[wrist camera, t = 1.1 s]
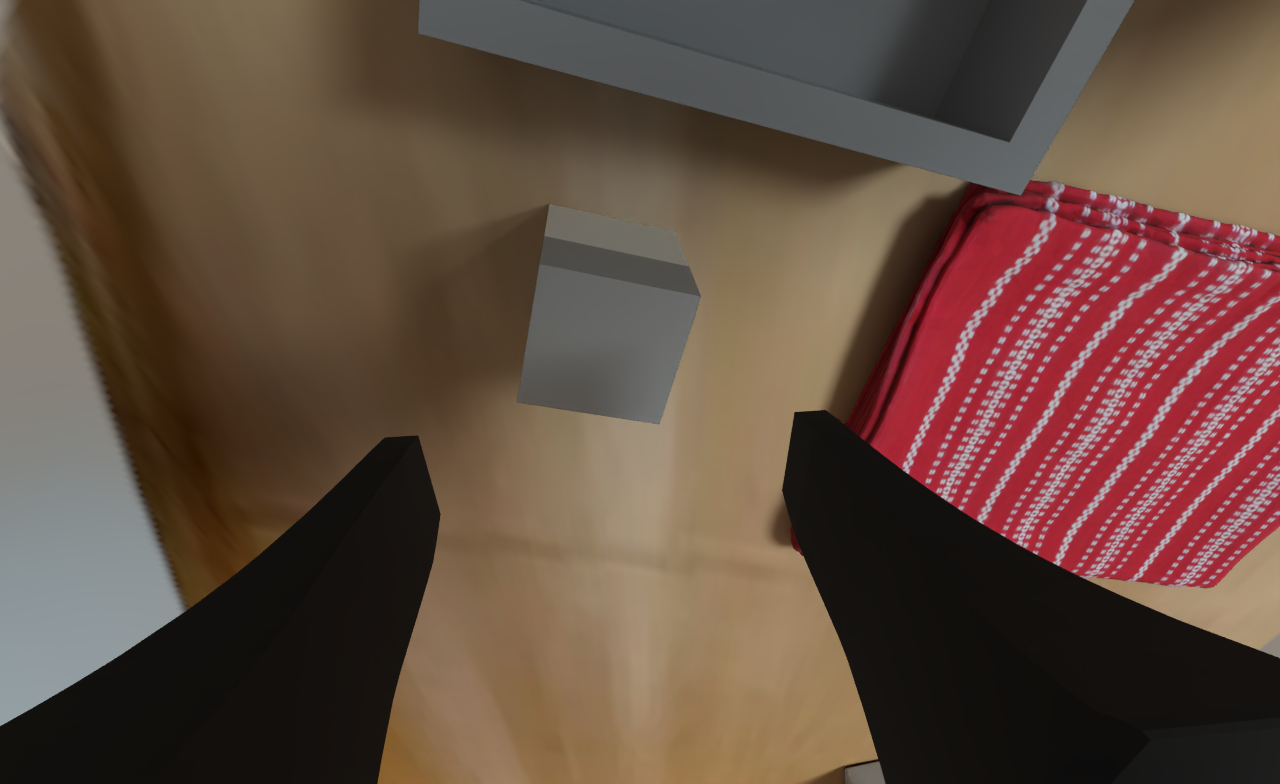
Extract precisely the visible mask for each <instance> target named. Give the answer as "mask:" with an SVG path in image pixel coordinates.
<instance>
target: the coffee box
mask: <svg viewBox="0 0 1280 784" xmlns="http://www.w3.org/2000/svg"><path fill="white" fill-rule="evenodd" d="M845 784H885V780H884V777H883V773H882V769H881V766H880V763H879V761H877V762H873V763H868V764H863V765H858V766H854V767H849V768H846V769H845Z"/></svg>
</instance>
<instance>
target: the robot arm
mask: <svg viewBox="0 0 1280 784" xmlns="http://www.w3.org/2000/svg"><path fill="white" fill-rule="evenodd" d="M782 491H783V495H784V499H785V502H786V506H787V510H788V514H789V517H790V520H791V524H792V527H793V531H794V534H795V537H796V539H797V542H798V544H799V546H800V549H801V551H802V554H803V556H804V558H805V561H806V563H807V565H808V568H809V570H810V572H811V575H812V577H813V579H814V581H815V584H816V586H817V588H818V591H819V593H820V595H821V597H822V600H823V602H824V604H825V607H826V609H827V611H828V613H829V616H830V618H831V620H832V623H833V625H834V627H835V630H836V632H837V634H838V636H839V639H840V642H841V644H842V647H843V649H844V652H845V654H846V657H847V660H848V663H849V666H850V669H851V672H852V675H853V678H854V681H855V684H856V687H857V691H858V694H859V697H860V700H861V703H862V706H863V709H864V712H865V716H866V719H867V722H868V726H869V729H870V732H871V736H872V739H873V743H874V746H875V749H876V753H877V756H878V759H879V763H880V766H881V769H882V773H883V777H884V780H885V784H1280V658H1278V657H1275V656H1273V655H1270V654H1267V653H1265V652H1262V651H1259V650H1257V649H1254V648H1251V647H1249V646H1246V645H1243V644H1241V643H1238V642H1235V641H1233V640H1230V639H1227V638H1225V637H1222V636H1219V635H1217V634H1214V633H1211V632H1209V631H1206V630H1203V629H1201V628H1198V627H1195V626H1193V625H1190V624H1187V623H1185V622H1182V621H1180V620H1177V619H1175V618H1172V617H1170V616H1167V615H1165V614H1163V613H1160V612H1158V611H1156V610H1153V609H1151V608H1149V607H1146V606H1144V605H1142V604H1139V603H1137V602H1135V601H1132V600H1130V599H1128V598H1125V597H1123V596H1121V595H1118V594H1116V593H1114V592H1112V591H1110V590H1108V589H1105V588H1103V587H1101V586H1099V585H1097V584H1094V583H1092V582H1090V581H1088V580H1086V579H1084V578H1082V577H1080V576H1078V575H1076V574H1074V573H1072V572H1070V571H1068V570H1066V569H1064V568H1062V567H1060V566H1058V565H1056V564H1054V563H1052V562H1050V561H1048V560H1046V559H1044V558H1042V557H1040V556H1038V555H1036V554H1034V553H1033V552H1031V551H1029V550H1027V549H1025V548H1023V547H1021V546H1020V545H1018V544H1016V543H1014V542H1013V541H1011V540H1009V539H1007V538H1006V537H1004V536H1002V535H1001V534H999V533H997V532H995V531H994V530H992V529H990V528H989V527H987V526H985V525H983V524H982V523H980V522H978V521H977V520H975V519H974V518H972V517H970V516H969V515H967V514H966V513H964V512H962V511H961V510H959V509H958V508H956V507H955V506H953V505H952V504H950V503H949V502H947V501H946V500H945V499H943V498H942V497H940V496H939V495H937V494H936V493H934V492H933V491H931V490H930V489H928V488H927V487H925V486H924V485H923V484H921V483H920V482H918V481H917V480H916V479H914V478H913V477H912V476H910V475H909V474H907V473H906V472H905V471H903V470H902V469H901V468H899V467H898V466H897V465H895V464H894V463H893V462H891V461H890V460H889V459H888V458H886V457H885V456H884V455H882V454H881V453H880V452H878V451H877V450H876V449H875V448H873V447H872V446H871V445H870V444H868V443H867V442H866V441H865V440H863V439H862V438H861V437H859V436H858V435H857V434H856V433H854V432H853V431H852V430H851V429H849V428H848V427H847V426H846V425H844V424H843V423H842V422H840V421H839V420H838V419H837V418H835V417H834V416H833V415H831V414H830V413H828V412H827V411H826V410H821V411H805V412H795V413H794V419H793V426H792V432H791V438H790V445H789V451H788V457H787V463H786V470H785V476H784V482H783V489H782ZM439 521H440V511H439V507H438V504H437V500H436V497H435V493H434V490H433V486H432V483H431V479H430V476H429V472H428V469H427V465H426V462H425V458H424V454H423V451H422V447H421V444H420V440H419V437H418V436H403V437H387V438H384V439H383V440H382V441H381V442H380V443H379V444H378V445H377V446H375V447H374V448H373V449H372V450H371V451H370V452H369V453H368V454H367V455H366V456H365V457H364V458H363V459H362V460H361V461H360V462H359V463H358V464H357V465H356V466H355V467H354V468H353V469H352V470H351V471H350V472H349V473H348V474H347V475H346V476H345V477H344V478H343V479H342V480H341V481H340V482H339V483H338V484H337V485H336V486H335V487H334V488H333V489H332V490H331V491H329V492H328V493H327V494H326V495H325V496H324V497H323V498H322V499H321V500H320V501H319V502H318V503H317V504H316V505H315V506H314V507H313V508H312V509H311V510H310V511H309V512H307V513H306V514H305V515H304V516H303V517H302V518H301V519H300V520H299V521H297V522H296V523H295V524H294V525H293V526H292V527H291V528H289V529H288V530H287V531H286V532H285V533H284V534H283V535H281V536H280V537H279V538H278V539H277V540H276V541H275V542H273V543H272V544H271V545H270V546H269V547H268V548H267V549H266V550H264V551H263V552H262V553H261V554H260V555H259V556H257V557H256V558H255V559H254V560H253V561H251V562H250V563H249V564H248V565H246V566H245V567H244V568H243V569H241V570H240V571H239V572H238V573H236V574H235V575H234V576H233V577H231V578H230V579H229V580H227V581H226V582H225V583H223V584H222V585H221V586H219V587H218V588H217V589H215V590H214V591H213V592H211V593H210V594H209V595H207V596H206V597H205V598H203V599H202V600H201V601H199V602H198V603H197V604H195V605H194V606H193V607H191V608H190V609H188V610H187V611H186V612H184V613H183V614H181V615H180V616H178V617H177V618H175V619H174V620H172V621H171V622H169V623H168V624H166V625H165V626H163V627H162V628H160V629H159V630H157V631H156V632H154V633H153V634H151V635H150V636H148V637H147V638H145V639H144V640H142V641H141V642H140V643H138V644H136V645H135V646H134V647H132V648H131V649H129V650H128V651H126V652H125V653H123V654H122V655H120V656H118V657H117V658H115V659H114V660H112V661H111V662H109V663H107V664H106V665H104V666H102V667H101V668H99V669H98V670H96V671H94V672H93V673H91V674H89V675H88V676H86V677H84V678H83V679H81V680H80V681H78V682H76V683H75V684H73V685H71V686H70V687H68V688H66V689H64V690H63V691H61V692H59V693H58V694H56V695H54V696H52V697H51V698H49V699H48V700H46V701H44V702H43V703H41V704H39V705H37V706H36V707H34V708H32V709H30V710H28V711H27V712H25V713H23V714H21V715H20V716H18V717H16V718H14V719H12V720H11V721H9V722H7V723H5V724H4V725H2V726H0V784H377V782H378V776H379V771H380V765H381V759H382V754H383V749H384V744H385V738H386V733H387V728H388V723H389V718H390V713H391V708H392V703H393V698H394V694H395V690H396V687H397V683H398V679H399V675H400V671H401V668H402V665H403V662H404V658H405V655H406V652H407V648H408V645H409V642H410V638H411V635H412V632H413V628H414V625H415V622H416V618H417V615H418V612H419V609H420V605H421V602H422V599H423V595H424V592H425V588H426V585H427V582H428V578H429V575H430V571H431V568H432V564H433V559H434V553H435V547H436V542H437V535H438V528H439Z"/></svg>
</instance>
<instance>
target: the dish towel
mask: <svg viewBox="0 0 1280 784" xmlns="http://www.w3.org/2000/svg"><path fill="white" fill-rule="evenodd" d="M845 425H846V426H847V427H848V428H849V429H851V430H852V431H853V432H854V433H856V434H857V435H858V436H859V437H861V438H862V439H863V440H865V441H866V442H867V443H868V444H870V445H871V446H872V447H873V448H875V449H876V450H877V451H878V452H880V453H881V454H882V455H884V456H885V457H886V458H888V459H889V460H890V461H891V462H893V463H894V464H895V465H897V466H898V467H899V468H901V469H902V470H903V471H905V472H906V473H907V474H909V475H910V476H912V477H913V478H914V479H916V480H917V481H918V482H920V483H921V484H923V485H924V486H925V487H927V488H928V489H930V490H931V491H933V492H934V493H936V494H937V495H939V496H940V497H942V498H943V499H945V500H946V501H947V502H949V503H950V504H952V505H953V506H955V507H956V508H958V509H959V510H961V511H962V512H964V513H966V514H967V515H969V516H970V517H972V518H974V519H975V520H977V521H978V522H980V523H982V524H983V525H985V526H987V527H989V528H990V529H992V530H994V531H995V532H997V533H999V534H1001V535H1002V536H1004V537H1006V538H1007V539H1009V540H1011V541H1013V542H1014V543H1016V544H1018V545H1020V546H1021V547H1023V548H1025V549H1027V550H1029V551H1031V552H1033V553H1034V554H1036V555H1038V556H1040V557H1042V558H1044V559H1046V560H1048V561H1050V562H1052V563H1054V564H1056V565H1058V566H1060V567H1062V568H1064V569H1066V570H1068V571H1070V572H1072V573H1074V574H1076V575H1078V576H1080V577H1082V578H1105V579H1115V580H1122V581H1137V582H1146V583H1150V584H1159V585H1165V586H1169V587H1185V586H1187V587H1200V588H1211V587H1214V586H1215V585H1217V584H1218V583H1219V582H1220V581H1221V580H1222V579H1223V578H1224V577H1225V576H1226V575H1227V573H1228V572H1229V571H1230V570H1231V569H1232V568H1233V567H1234V566H1235V565H1236V564H1237V563H1238V562H1239V561H1240V560H1241V559H1242V558H1243V557H1244V556H1245V555H1246V554H1247V553H1249V552H1250V551H1251V550H1252V549H1253V548H1254V547H1255V546H1257V545H1258V544H1259V543H1260V542H1261V541H1262V540H1264V539H1265V538H1266V537H1267V536H1269V535H1270V534H1271V533H1272V532H1274V531H1275V530H1276V529H1277V528H1278V527H1279V526H1280V236H1276V235H1273V234H1272V233H1262V232H1259V231H1256V230H1254V229H1251V228H1247V227H1245V226H1242V225H1235V224H1224V223H1220V222H1218V221H1214V220H1207V219H1202V218H1198V217H1194V216H1190V215H1187V214H1184V213H1175V212H1170V211H1166V210H1162V209H1156V208H1154V207H1152V206H1150V205H1146V204H1140V203H1137V202H1134V201H1132V200H1128V199H1125V198H1123V197H1119V196H1114V195H1104V194H1097V193H1096V192H1094V191H1092V190H1084V189H1079V188H1075V187H1071V186H1066V185H1064V184H1063V183H1057V182H1054V181H1051V182H1040V181H1031V180H1030V181H1029V182H1028V184H1027V186H1026V188H1025V189H1024V191H1023V193H1022V195H1017V194H1013V193H1010V192H1006V191H1002V190H998V189H995V188H991V187H987V186H984V185H980V184H976V183H972V182H971V184H970V186H969V187H968V190H967V192H966V194H965V196H964V198H963V200H962V201H961V203H960V204H959V206H958V208H957V209H956V211H955V213H954V214H953V216H952V218H951V220H950V222H949V224H948V225H947V227H946V229H945V231H944V233H943V235H942V237H941V238H940V240H939V242H938V244H937V246H936V248H935V251H934V253H933V254H932V256H931V258H930V260H929V262H928V264H927V266H926V268H925V269H924V271H923V273H922V276H921V278H920V280H919V282H918V284H917V286H916V288H915V290H914V292H913V294H912V296H911V298H910V300H909V302H908V304H907V306H906V308H905V310H904V311H903V313H902V315H901V317H900V319H899V321H898V322H897V324H896V327H895V329H894V331H893V333H892V335H891V337H890V338H889V340H888V342H887V344H886V346H885V348H884V350H883V352H882V354H881V356H880V358H879V360H878V362H877V364H876V366H875V368H874V370H873V372H872V374H871V376H870V378H869V380H868V382H867V384H866V385H865V387H864V389H863V391H862V393H861V395H860V397H859V399H858V401H857V404H856V405H855V407H854V409H853V411H852V413H851V415H850V417H849V419H848V421H847V423H846V424H845ZM791 542H792V545H793V548H794V549H795V550H796V551H798V552H799V553H800V554H801V555H802V556H803V554H802V551H801V549H800V546H799V544H798V542H797V539H796V537H795V534H794V531H793V527H791Z"/></svg>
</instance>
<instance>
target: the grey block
mask: <svg viewBox="0 0 1280 784" xmlns="http://www.w3.org/2000/svg"><path fill="white" fill-rule="evenodd" d="M700 298H701V295H700V293H699V290H698V288H697V285H696V283H695V280H694V278H693V275H692V273H691V270H690V268H689V265H688V263H687V260H686V258H685V255H684V253H683V250H682V248H681V245H680V243H679V240H678V238H677V235H676V233H675V232H674V231H669V230H665V229H660V228H656V227H651V226H647V225H642V224H638V223H633V222H629V221H624V220H620V219H615V218H611V217H606V216H602V215H598V214H593V213H589V212H584V211H580V210H575V209H571V208H566V207H562V206H557V205H553V204H549V210H548V216H547V222H546V228H545V234H544V240H543V246H542V252H541V258H540V264H539V270H538V276H537V282H536V288H535V294H534V301H533V307H532V313H531V319H530V325H529V331H528V337H527V343H526V349H525V355H524V362H523V368H522V374H521V380H520V386H519V392H518V398H517V402H518V403H524V404H531V405H537V406H544V407H550V408H557V409H563V410H570V411H576V412H582V413H589V414H595V415H602V416H608V417H615V418H621V419H628V420H634V421H641V422H647V423H654V424H660V421H661V418H662V415H663V412H664V409H665V405H666V402H667V399H668V396H669V393H670V390H671V387H672V384H673V381H674V378H675V375H676V372H677V369H678V366H679V363H680V360H681V357H682V353H683V350H684V347H685V344H686V341H687V338H688V335H689V332H690V329H691V326H692V323H693V320H694V317H695V314H696V311H697V308H698V305H699V302H700Z"/></svg>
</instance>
